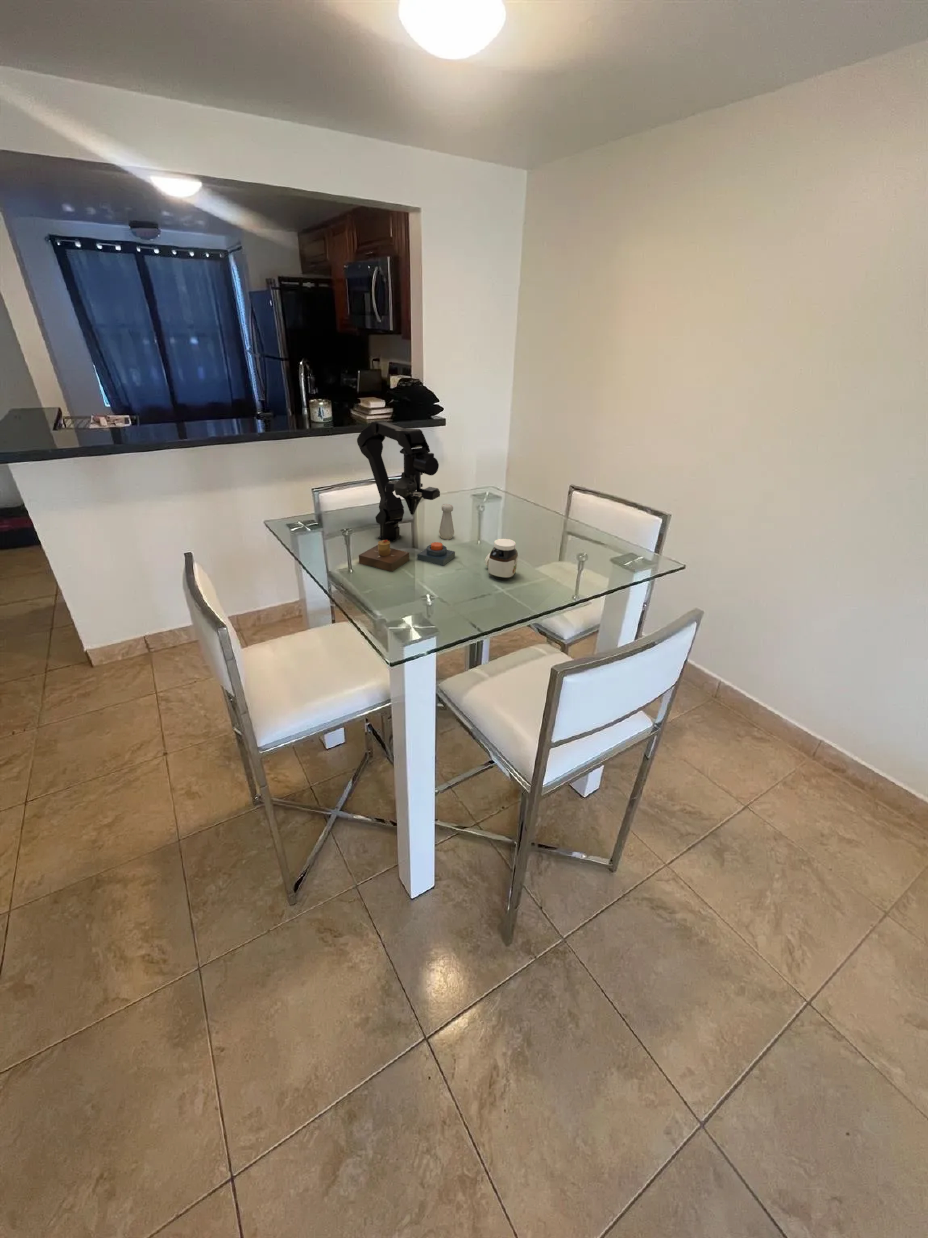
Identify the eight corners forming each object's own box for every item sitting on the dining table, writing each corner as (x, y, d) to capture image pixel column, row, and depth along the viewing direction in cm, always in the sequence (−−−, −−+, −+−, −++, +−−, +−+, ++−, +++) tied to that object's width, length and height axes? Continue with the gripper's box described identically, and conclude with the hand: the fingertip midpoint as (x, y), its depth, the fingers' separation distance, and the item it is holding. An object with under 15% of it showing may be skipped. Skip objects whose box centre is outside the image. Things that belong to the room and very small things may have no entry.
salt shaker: (451, 541, 193) (453, 507, 187) (437, 539, 194) (438, 506, 188) (455, 536, 198) (456, 503, 192) (440, 534, 199) (441, 501, 193)
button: (428, 549, 175) (428, 544, 174) (434, 545, 178) (434, 541, 178) (438, 551, 174) (439, 547, 173) (444, 548, 177) (444, 543, 176)
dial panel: (359, 563, 171) (358, 554, 170) (377, 552, 180) (377, 544, 178) (391, 571, 166) (391, 562, 165) (409, 560, 175) (409, 551, 174)
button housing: (417, 559, 176) (417, 549, 174) (430, 551, 183) (430, 541, 181) (442, 566, 172) (443, 555, 171) (454, 557, 180) (455, 546, 178)
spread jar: (505, 584, 162) (508, 549, 157) (474, 574, 167) (476, 541, 162) (521, 571, 171) (525, 539, 166) (492, 563, 176) (495, 531, 171)
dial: (386, 556, 169) (385, 544, 167) (376, 554, 171) (375, 542, 169) (392, 552, 173) (392, 540, 170) (382, 550, 174) (382, 538, 172)
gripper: (375, 469, 167) (376, 515, 175) (424, 478, 160) (424, 525, 168) (393, 463, 176) (394, 507, 184) (441, 471, 169) (440, 516, 177)
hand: (412, 514), depth 178 cm, fingers closed
